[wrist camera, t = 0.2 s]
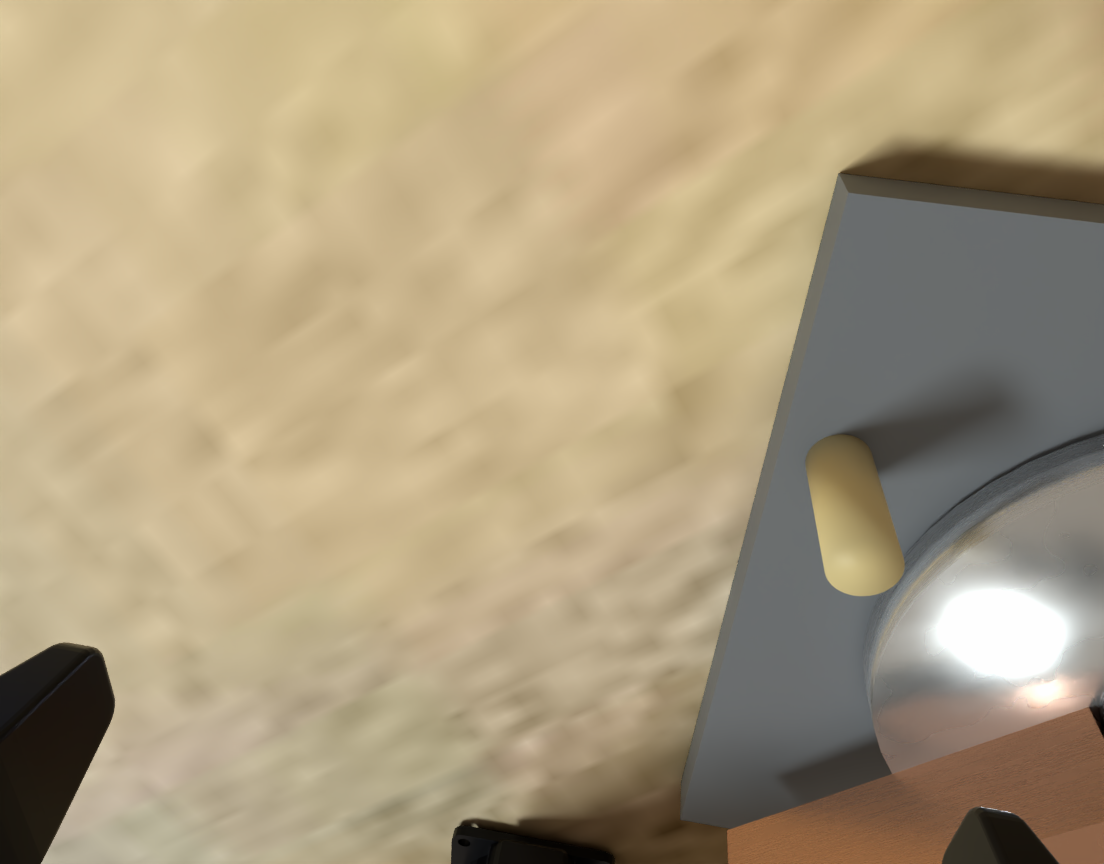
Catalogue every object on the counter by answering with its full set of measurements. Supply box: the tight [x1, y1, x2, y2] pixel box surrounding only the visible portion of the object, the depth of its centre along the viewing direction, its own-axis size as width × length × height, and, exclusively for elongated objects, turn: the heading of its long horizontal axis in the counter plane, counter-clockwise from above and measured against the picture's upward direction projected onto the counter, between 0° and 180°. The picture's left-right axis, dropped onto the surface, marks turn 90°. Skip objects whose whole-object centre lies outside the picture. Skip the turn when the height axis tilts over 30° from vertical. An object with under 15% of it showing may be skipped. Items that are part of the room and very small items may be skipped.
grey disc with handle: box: [727, 434, 1104, 864], centre depth 22 cm, size 20×15×5 cm
